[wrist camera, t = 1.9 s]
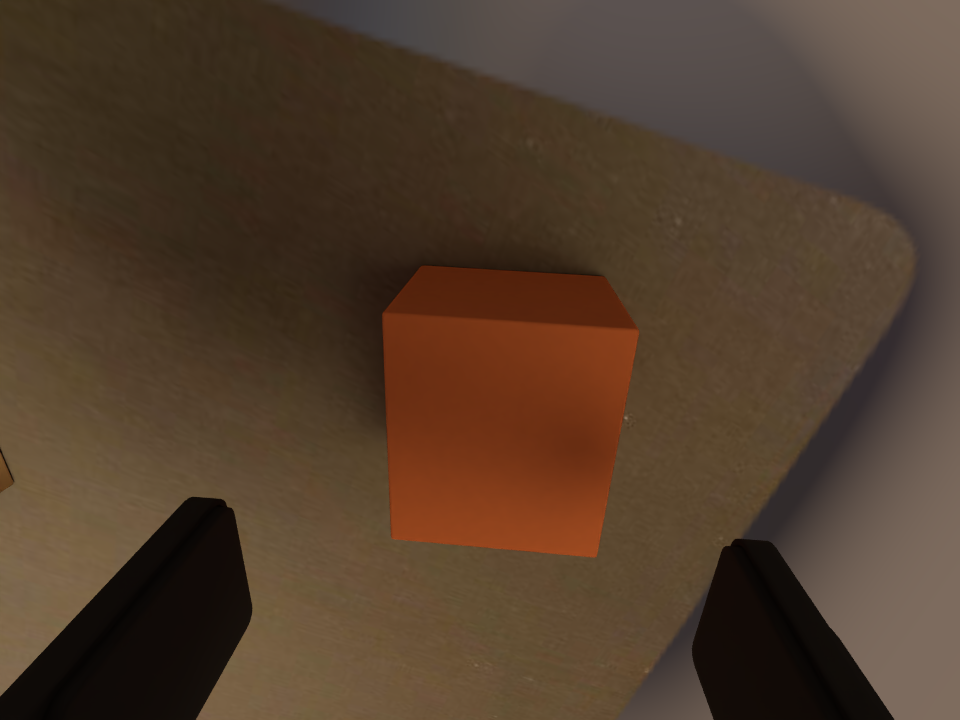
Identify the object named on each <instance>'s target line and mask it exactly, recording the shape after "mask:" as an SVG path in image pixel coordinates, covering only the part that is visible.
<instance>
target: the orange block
mask: <svg viewBox="0 0 960 720" xmlns="http://www.w3.org/2000/svg"><path fill="white" fill-rule="evenodd" d="M382 325H383V349H384V374H385V399H386V423H387V448H388V472H389V497H390V521H391V537H392V539H398V540H409V541H420V542H431V543H442V544H453V545H464V546H475V547H486V548H497V549H508V550H519V551H530V552H541V553H552V554H563V555H574V556H585V557H596V556H597V552H598V547H599V542H600V537H601V531H602V526H603V521H604V515H605V510H606V505H607V500H608V494H609V489H610V484H611V478H612V473H613V468H614V463H615V457H616V452H617V447H618V441H619V436H620V431H621V426H622V420H623V415H624V410H625V404H626V399H627V394H628V389H629V383H630V378H631V373H632V368H633V362H634V357H635V352H636V346H637V341H638V336H639V329H638V328H637V326H636V325H635V323H634V322H633V320H632V318H631V317H630V315H629V314H628V312H627V311H626V309H625V307H624V306H623V304H622V303H621V301H620V300H619V298H618V297H617V295H616V293H615V292H614V290H613V289H612V287H611V286H610V284H609V282H608V281H607V279H606V278H605V277H604V276H589V275H573V274H557V273H540V272H524V271H508V270H491V269H475V268H459V267H442V266H426V265H423V266H421V267H420V268H419V269H418V270H417V272H416V273H415V274H414V275H413V277H412V278H411V279H410V280H409V281H408V283H407V284H406V285H405V286H404V288H403V289H402V290H401V291H400V292H399V294H398V295H397V296H396V297H395V299H394V300H393V301H392V302H391V303H390V305H389V306H388V307H387V308H386V309H385V311H384V312H383V314H382Z"/></svg>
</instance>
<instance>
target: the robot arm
mask: <svg viewBox="0 0 960 720" xmlns="http://www.w3.org/2000/svg"><path fill="white" fill-rule="evenodd" d="M251 615H252V602H251V597H250V592H249V587H248V581H247V576H246V571H245V566H244V561H243V555H242V550H241V545H240V540H239V535H238V530H237V524H236V519H235V514H234V511H233V509H232V508H229V507H227V505H226V502H225V501H224V500H222V499H215V498H202V497H191V498H188V499H187V500H186V501H184V502H183V503H182V505H181V506H180V507H179V508H178V509H177V510H176V511H175V512H174V513H173V514H172V515H171V516H170V517H169V518H168V519H167V520H166V521H165V523H164V524H163V525H162V526H161V527H160V528H159V529H158V530H157V531H156V532H155V533H154V534H153V535H152V536H151V537H150V538H149V540H148V541H147V542H146V543H145V544H144V545H143V546H142V547H141V548H140V549H139V550H138V551H137V552H136V553H135V554H134V555H133V556H132V558H131V559H130V560H129V561H128V562H127V563H126V564H125V565H124V566H123V567H122V568H121V569H120V570H119V571H118V572H117V573H116V575H115V576H114V577H113V578H112V579H111V580H110V581H109V582H108V583H107V584H106V585H105V586H104V587H103V588H102V589H101V590H100V591H99V593H98V594H97V595H96V596H95V597H94V598H93V599H92V600H91V601H90V602H89V603H88V604H87V605H86V606H85V607H84V608H83V609H82V611H81V612H80V613H79V614H78V615H77V616H76V617H75V618H74V619H73V620H72V621H71V622H70V623H69V624H68V625H67V626H66V628H65V629H64V630H63V631H62V632H61V633H60V634H59V635H58V636H57V637H56V638H55V639H54V640H53V641H52V642H51V643H50V644H49V646H48V647H47V648H46V649H45V650H44V651H43V652H42V653H41V654H40V655H39V656H38V657H37V658H36V659H35V660H34V661H33V663H32V664H31V665H30V666H29V667H28V668H27V669H26V670H25V671H24V672H23V673H22V674H21V675H20V676H19V677H18V678H17V679H16V681H15V682H14V683H13V684H12V685H11V686H10V687H9V688H8V689H7V690H6V691H5V692H4V693H3V694H2V695H1V696H0V720H196V718H197V717H198V715H199V713H200V711H201V709H202V708H203V706H204V704H205V702H206V700H207V699H208V697H209V695H210V693H211V692H212V690H213V688H214V686H215V684H216V683H217V681H218V679H219V677H220V675H221V674H222V672H223V670H224V668H225V666H226V665H227V663H228V661H229V659H230V658H231V656H232V654H233V652H234V650H235V649H236V647H237V645H238V643H239V641H240V640H241V638H242V636H243V634H244V632H245V631H246V629H247V627H248V625H249V622H250V619H251ZM692 656H693V662H694V665H695V669H696V671H697V674H698V677H699V680H700V683H701V685H702V688H703V691H704V694H705V696H706V699H707V702H708V705H709V708H710V711H711V713H712V716H713V719H714V720H894V718H893V717H892V715H891V714H890V713H889V711H888V710H887V708H886V706H885V705H884V704H883V702H882V701H881V699H880V698H879V696H878V695H877V693H876V692H875V691H874V689H873V687H872V686H871V684H870V683H869V681H868V680H867V678H866V677H865V676H864V674H863V673H862V671H861V670H860V668H859V667H858V665H857V664H856V662H855V661H854V659H853V658H852V657H851V655H850V653H849V652H848V651H847V649H846V648H845V646H844V645H843V643H842V642H841V640H840V639H839V637H838V636H837V635H836V634H835V633H834V631H833V630H832V629H831V628H830V627H829V626H828V624H827V623H826V621H825V620H824V618H823V617H822V615H821V614H820V613H819V611H818V610H817V608H816V606H815V605H814V603H813V602H812V600H811V599H810V598H809V596H808V595H807V593H806V592H805V590H804V589H803V587H802V586H801V584H800V583H799V581H798V580H797V579H796V577H795V575H794V574H793V572H792V571H791V569H790V568H789V566H788V565H787V563H786V562H785V561H784V559H783V557H782V556H781V554H780V553H779V552H778V550H777V548H776V547H775V546H774V545H773V544H772V543H771V542H769V541H761V540H747V539H735V540H734V541H733V542H732V544H731V546H725V547H724V548H723V549H722V552H721V555H720V558H719V561H718V564H717V568H716V571H715V574H714V577H713V580H712V583H711V587H710V590H709V593H708V596H707V599H706V603H705V606H704V609H703V613H702V615H701V619H700V622H699V625H698V628H697V631H696V635H695V638H694V641H693V645H692Z"/></svg>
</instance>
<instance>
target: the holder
mask: <svg viewBox="0 0 960 720" xmlns="http://www.w3.org/2000/svg"><path fill="white" fill-rule="evenodd" d="M12 484H13V480H12V478H11V475H10V473H9V471H8V468H7V466H6V464H5V461H4V459H3V457H2V455H1V452H0V492H2V491H3V490H5V489H6V488H8V487H9V486H11V485H12Z"/></svg>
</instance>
